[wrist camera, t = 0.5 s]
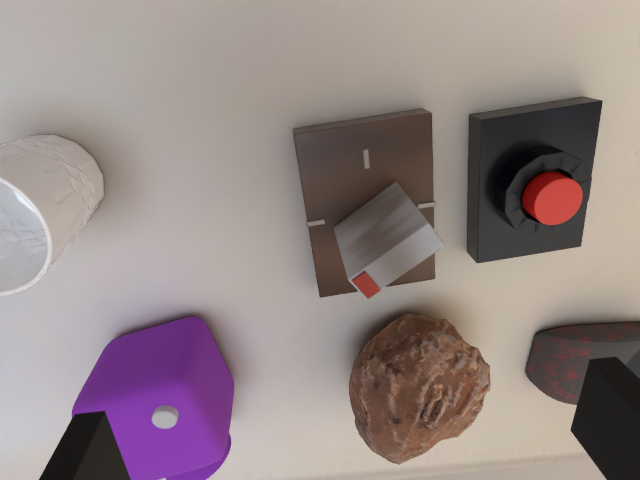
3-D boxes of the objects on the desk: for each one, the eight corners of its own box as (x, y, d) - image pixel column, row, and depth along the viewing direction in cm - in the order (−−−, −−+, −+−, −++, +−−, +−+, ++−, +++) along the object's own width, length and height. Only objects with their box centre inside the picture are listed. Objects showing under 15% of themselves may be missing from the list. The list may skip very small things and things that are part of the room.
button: (523, 175, 32) (536, 182, 30) (571, 167, 32) (586, 174, 30) (519, 219, 33) (532, 229, 32) (565, 212, 33) (579, 221, 32)
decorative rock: (374, 413, 46) (397, 506, 37) (313, 349, 42) (322, 437, 33) (483, 352, 44) (536, 435, 35) (430, 276, 39) (476, 349, 30)
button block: (468, 114, 33) (492, 124, 29) (583, 96, 33) (620, 104, 30) (466, 251, 38) (486, 274, 35) (565, 235, 38) (595, 256, 35)
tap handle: (395, 180, 33) (430, 224, 25) (409, 200, 33) (447, 247, 26) (333, 227, 34) (348, 281, 26) (347, 244, 35) (366, 302, 27)
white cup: (124, 150, 32) (63, 196, 23) (101, 240, 35) (39, 312, 26) (7, 107, 30) (-108, 140, 21) (-6, 206, 33) (-113, 271, 24)
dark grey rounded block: (537, 321, 42) (561, 347, 39) (667, 313, 43) (702, 339, 40) (521, 383, 46) (541, 412, 42) (641, 374, 47) (671, 403, 43)
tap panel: (291, 128, 32) (291, 134, 30) (424, 107, 32) (434, 112, 31) (316, 285, 38) (319, 299, 37) (429, 267, 39) (437, 279, 37)
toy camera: (177, 434, 45) (152, 535, 36) (89, 344, 39) (33, 437, 30) (268, 394, 44) (265, 488, 35) (191, 294, 38) (164, 376, 29)
